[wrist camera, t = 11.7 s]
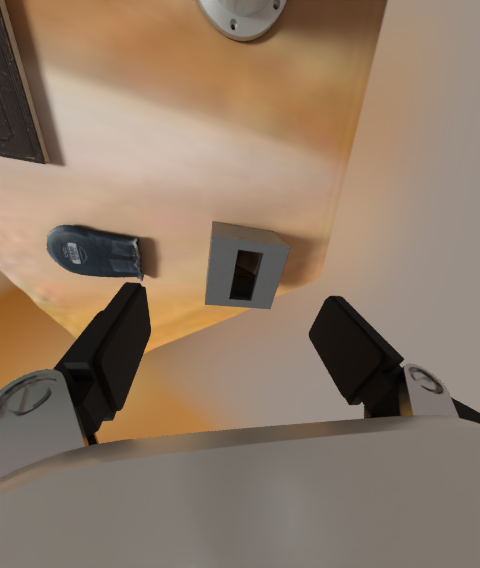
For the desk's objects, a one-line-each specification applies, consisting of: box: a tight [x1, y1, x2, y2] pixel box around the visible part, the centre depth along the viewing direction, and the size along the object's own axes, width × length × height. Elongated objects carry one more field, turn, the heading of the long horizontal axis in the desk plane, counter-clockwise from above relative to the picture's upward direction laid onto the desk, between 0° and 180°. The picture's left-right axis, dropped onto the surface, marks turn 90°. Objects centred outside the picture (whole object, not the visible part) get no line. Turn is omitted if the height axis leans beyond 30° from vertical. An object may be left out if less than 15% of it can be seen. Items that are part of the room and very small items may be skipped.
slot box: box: [205, 222, 290, 309], centre depth 34 cm, size 12×12×10 cm
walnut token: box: [236, 250, 261, 275], centre depth 36 cm, size 6×2×5 cm
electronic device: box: [47, 225, 144, 281], centre depth 33 cm, size 9×6×15 cm
